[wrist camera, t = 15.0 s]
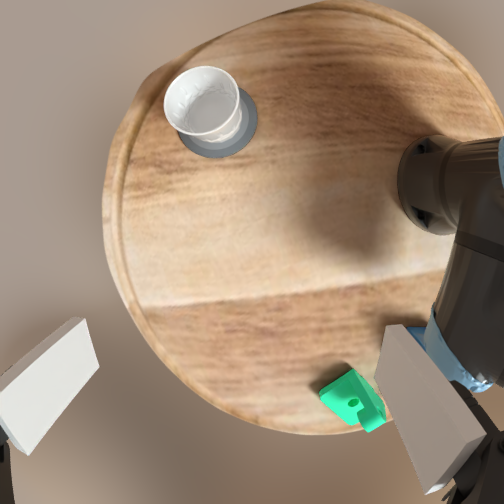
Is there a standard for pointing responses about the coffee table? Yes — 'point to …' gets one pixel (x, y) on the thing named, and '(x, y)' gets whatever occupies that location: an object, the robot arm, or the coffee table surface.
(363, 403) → the camera mount
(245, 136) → the coaster
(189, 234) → the coffee table surface
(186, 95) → the white cup
